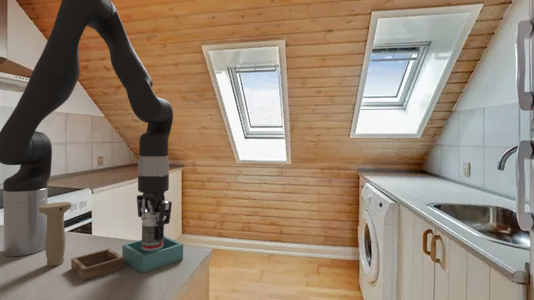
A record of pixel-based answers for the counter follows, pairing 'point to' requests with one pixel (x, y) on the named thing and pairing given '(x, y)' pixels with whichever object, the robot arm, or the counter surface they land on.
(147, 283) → the counter surface
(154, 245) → the pill bottle
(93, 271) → the brown open box
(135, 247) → the tray
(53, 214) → the handle
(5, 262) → the counter surface
